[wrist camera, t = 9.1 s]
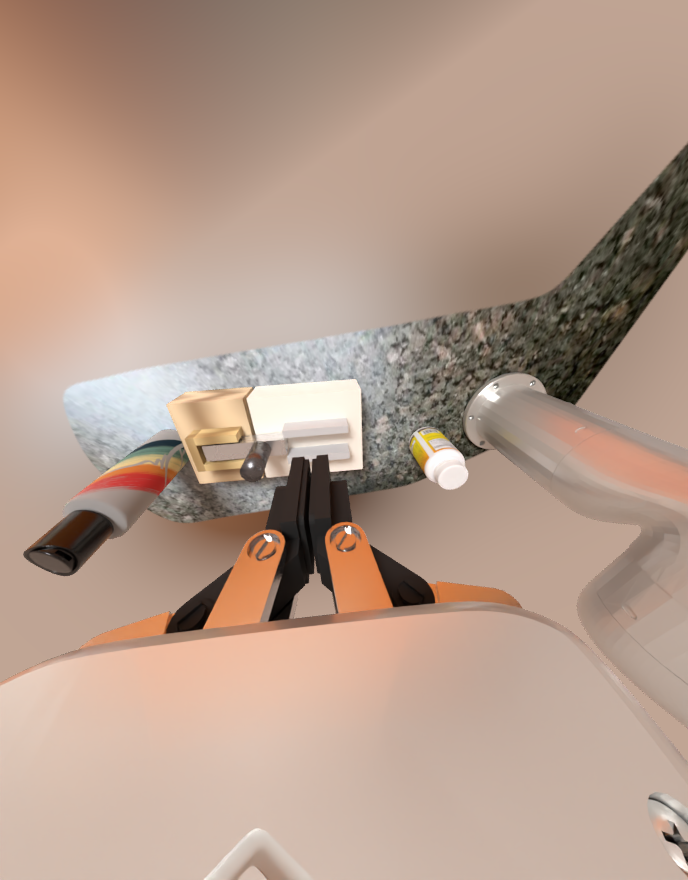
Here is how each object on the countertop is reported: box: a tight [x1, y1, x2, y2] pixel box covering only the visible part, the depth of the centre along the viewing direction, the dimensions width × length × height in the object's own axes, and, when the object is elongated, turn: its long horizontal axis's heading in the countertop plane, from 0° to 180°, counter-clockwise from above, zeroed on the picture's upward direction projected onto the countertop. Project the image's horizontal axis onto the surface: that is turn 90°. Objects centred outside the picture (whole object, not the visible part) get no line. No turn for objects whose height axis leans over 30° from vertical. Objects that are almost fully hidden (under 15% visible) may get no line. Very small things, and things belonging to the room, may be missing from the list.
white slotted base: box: [246, 379, 363, 478], centre depth 34 cm, size 14×12×7 cm
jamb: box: [167, 387, 265, 484], centre depth 34 cm, size 9×12×7 cm
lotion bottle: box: [23, 429, 189, 576], centre depth 29 cm, size 6×6×20 cm
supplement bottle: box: [409, 427, 468, 490], centre depth 36 cm, size 6×6×10 cm
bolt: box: [202, 433, 289, 482], centre depth 30 cm, size 10×2×7 cm, turn 93°
